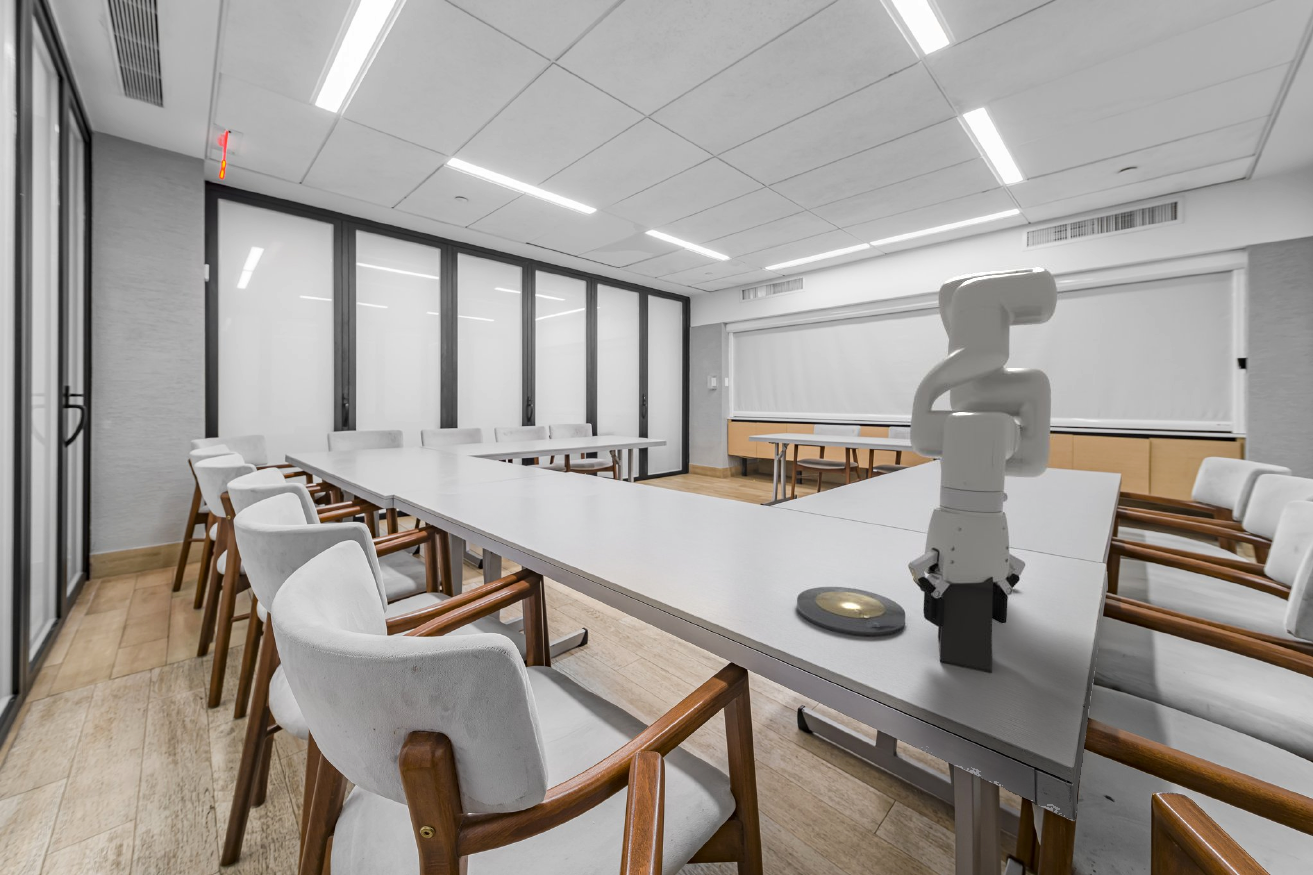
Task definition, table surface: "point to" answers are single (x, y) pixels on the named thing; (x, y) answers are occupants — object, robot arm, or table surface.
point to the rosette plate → (851, 611)
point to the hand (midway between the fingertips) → (964, 620)
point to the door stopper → (967, 626)
